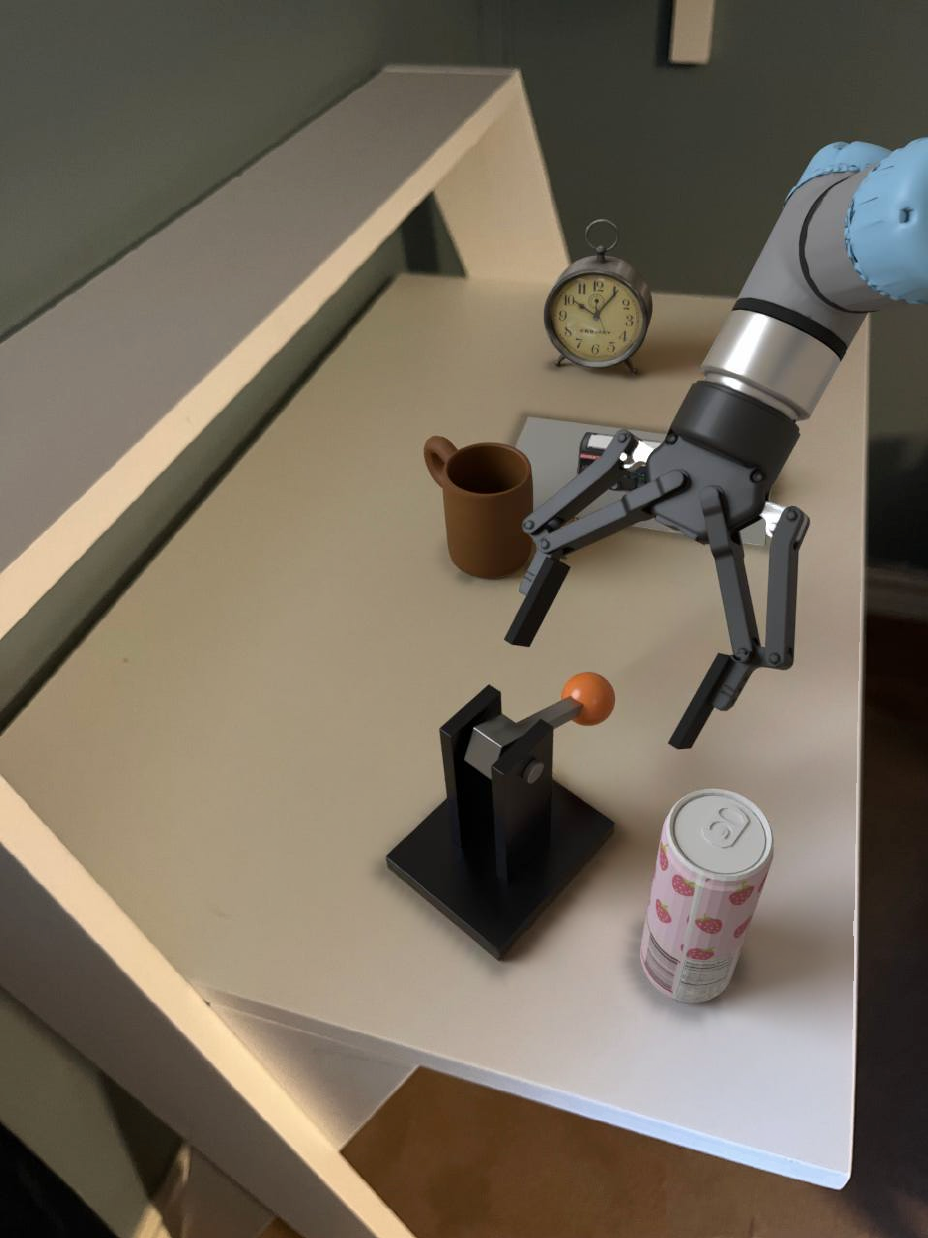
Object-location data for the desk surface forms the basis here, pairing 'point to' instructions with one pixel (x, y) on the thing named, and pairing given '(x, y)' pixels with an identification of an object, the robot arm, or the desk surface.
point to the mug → (483, 504)
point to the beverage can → (704, 893)
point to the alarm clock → (598, 310)
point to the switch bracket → (499, 834)
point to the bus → (576, 446)
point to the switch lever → (580, 702)
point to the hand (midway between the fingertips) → (593, 692)
